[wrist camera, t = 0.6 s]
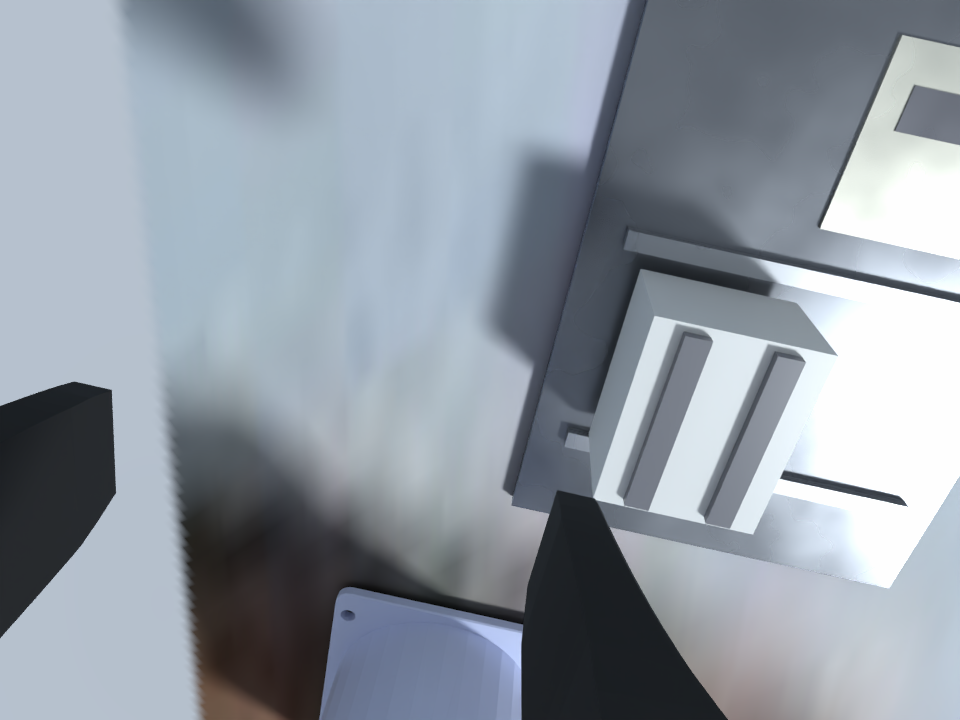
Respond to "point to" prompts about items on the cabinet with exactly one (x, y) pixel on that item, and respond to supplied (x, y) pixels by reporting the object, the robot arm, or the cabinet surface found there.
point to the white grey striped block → (704, 401)
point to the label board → (787, 256)
